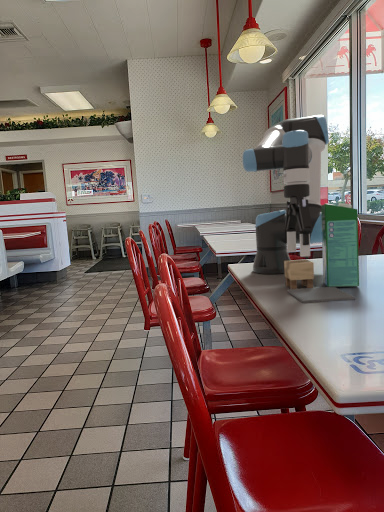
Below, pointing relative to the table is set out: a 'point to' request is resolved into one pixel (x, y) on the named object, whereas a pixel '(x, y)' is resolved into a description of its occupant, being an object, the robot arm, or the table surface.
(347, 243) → the milk carton
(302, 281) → the footstool
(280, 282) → the table surface
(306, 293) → the mat
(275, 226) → the robot arm
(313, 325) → the table surface
